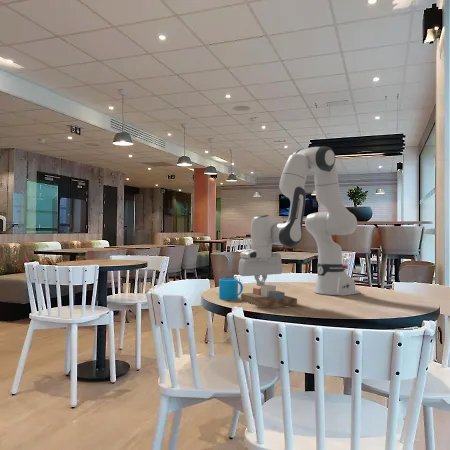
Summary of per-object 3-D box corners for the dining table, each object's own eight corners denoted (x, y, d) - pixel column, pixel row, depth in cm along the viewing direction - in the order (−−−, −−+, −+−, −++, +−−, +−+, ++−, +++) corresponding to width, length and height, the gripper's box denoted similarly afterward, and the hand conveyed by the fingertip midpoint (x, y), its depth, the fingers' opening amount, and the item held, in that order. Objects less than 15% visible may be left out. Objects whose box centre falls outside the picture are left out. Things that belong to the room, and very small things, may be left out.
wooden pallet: (268, 298, 188) (268, 291, 188) (296, 306, 171) (296, 298, 171) (241, 300, 182) (241, 293, 182) (267, 308, 164) (267, 300, 164)
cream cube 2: (269, 295, 179) (269, 284, 179) (275, 297, 175) (275, 286, 175) (260, 296, 177) (260, 285, 177) (266, 297, 173) (266, 286, 173)
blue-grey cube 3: (277, 302, 174) (278, 290, 174) (284, 303, 170) (284, 292, 170) (268, 302, 172) (269, 291, 172) (275, 304, 168) (275, 293, 168)
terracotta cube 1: (261, 297, 185) (261, 287, 185) (267, 299, 181) (267, 288, 181) (253, 298, 182) (253, 287, 182) (258, 299, 179) (258, 289, 179)
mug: (226, 300, 182) (226, 281, 182) (215, 297, 188) (215, 279, 188) (248, 297, 189) (248, 279, 189) (236, 295, 196) (237, 277, 196)
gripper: (276, 251, 190) (276, 283, 190) (236, 253, 180) (236, 286, 180) (285, 252, 184) (285, 285, 184) (244, 254, 174) (244, 288, 174)
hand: (260, 285), depth 182 cm, fingers closed
